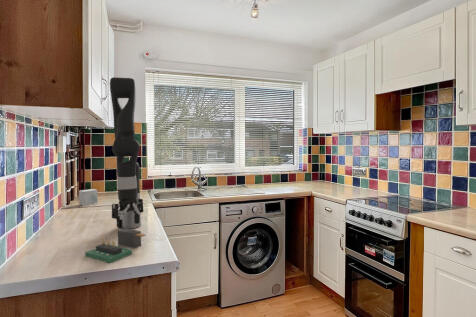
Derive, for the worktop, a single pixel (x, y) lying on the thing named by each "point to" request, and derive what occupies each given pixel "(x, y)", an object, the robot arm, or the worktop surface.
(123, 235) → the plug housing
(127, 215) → the robot arm
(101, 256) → the header board
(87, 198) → the skincare box
